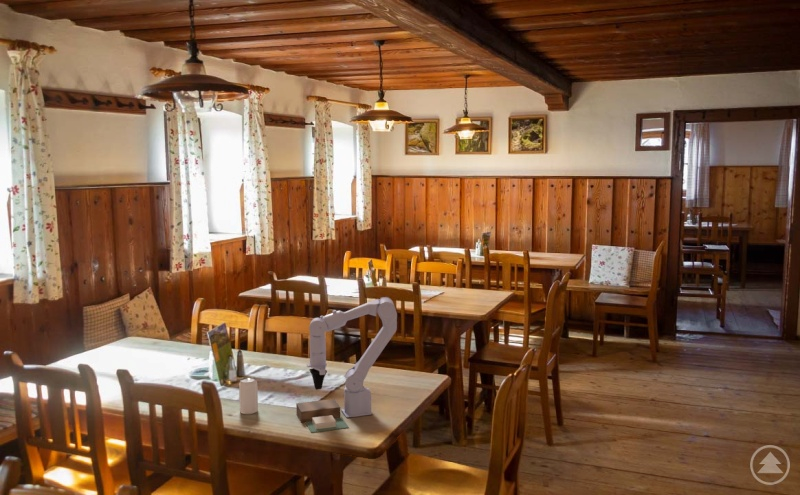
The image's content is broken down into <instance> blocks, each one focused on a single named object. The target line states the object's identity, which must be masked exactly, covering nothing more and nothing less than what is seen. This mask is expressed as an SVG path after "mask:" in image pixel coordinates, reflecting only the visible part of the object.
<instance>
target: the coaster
mask: <svg viewBox="0 0 800 495" xmlns="http://www.w3.org/2000/svg"><path fill="white" fill-rule="evenodd" d="M312 424H313V425H314V427H315V429H324V428H331V427H336V421H335V419H334V418H333V416H332V415H329V416H321V417H313V418H312Z"/></svg>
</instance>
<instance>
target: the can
mask: <svg viewBox="0 0 800 495" xmlns="http://www.w3.org/2000/svg"><path fill="white" fill-rule="evenodd" d="M238 388H239V391H238V392H239V393H238V394H239V395H238V398H239V412H240V414H242V415H246V416H247V415H253V414H256V413H257V412H258V411H259V401H258V400H259V399H258V398H259V396H258V395H259V394H258V391H259V390H258V382H257V378H255V377H253V376H252V377H243V378H241V379H240V380H239V384H238Z"/></svg>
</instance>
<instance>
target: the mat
mask: <svg viewBox="0 0 800 495" xmlns="http://www.w3.org/2000/svg"><path fill="white" fill-rule="evenodd" d="M334 419H335V421H336V427H331V428H324V429H315V427H314V425H313V424H312V421H308V422H305V424H306V426H307V428H308V430H309V432H310V433H311V434H313V433H319V432H327V431H328V432H329V431H335V430H337V431H338V430H343V429H345V430H346V429H349V428H350V427H349V425H348V424H347V422H346V421H345V420H344V418H343V417H341V416H340V418H334Z"/></svg>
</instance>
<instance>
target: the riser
mask: <svg viewBox="0 0 800 495" xmlns="http://www.w3.org/2000/svg"><path fill="white" fill-rule="evenodd" d="M295 405H296V415H297V417H298V420H299V421H300V423H302V424H304V423H306V422H308V421H312V418H313V417H321V416H329V415H332V416H333V418H340V417H341V405H339V403H338V402H337V401H336V400H335V398H331V399H321V400H312V401H306V402H304V401H303V402H296V404H295Z"/></svg>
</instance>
